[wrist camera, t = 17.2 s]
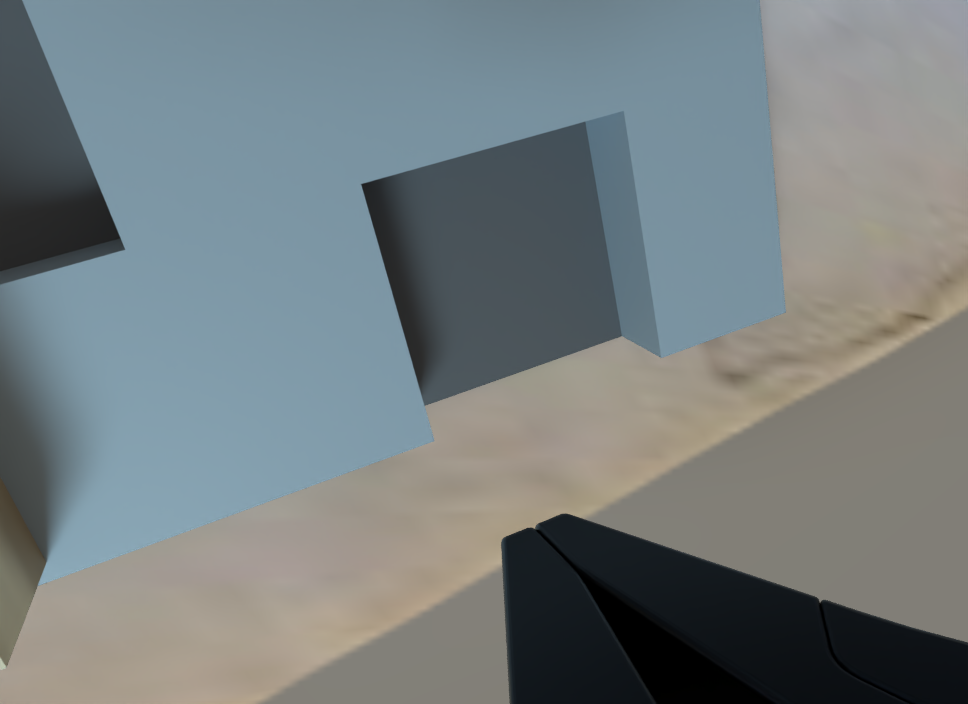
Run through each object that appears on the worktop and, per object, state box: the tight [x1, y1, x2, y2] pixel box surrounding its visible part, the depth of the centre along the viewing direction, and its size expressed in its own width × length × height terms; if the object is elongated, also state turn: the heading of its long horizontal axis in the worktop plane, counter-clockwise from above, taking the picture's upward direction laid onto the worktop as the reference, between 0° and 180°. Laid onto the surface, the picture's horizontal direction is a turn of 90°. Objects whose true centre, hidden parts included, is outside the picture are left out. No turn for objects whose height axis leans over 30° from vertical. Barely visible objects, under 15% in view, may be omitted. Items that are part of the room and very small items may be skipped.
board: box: [0, 0, 786, 586], centre depth 16 cm, size 26×14×5 cm, turn 103°
